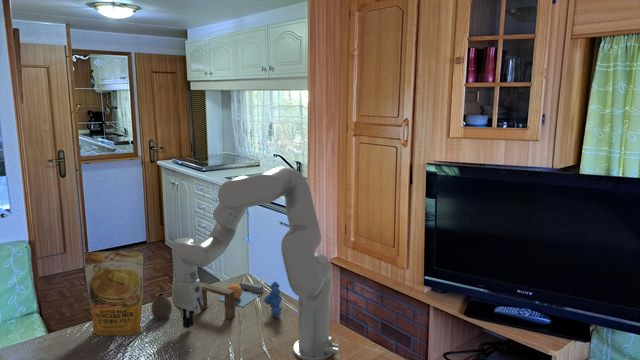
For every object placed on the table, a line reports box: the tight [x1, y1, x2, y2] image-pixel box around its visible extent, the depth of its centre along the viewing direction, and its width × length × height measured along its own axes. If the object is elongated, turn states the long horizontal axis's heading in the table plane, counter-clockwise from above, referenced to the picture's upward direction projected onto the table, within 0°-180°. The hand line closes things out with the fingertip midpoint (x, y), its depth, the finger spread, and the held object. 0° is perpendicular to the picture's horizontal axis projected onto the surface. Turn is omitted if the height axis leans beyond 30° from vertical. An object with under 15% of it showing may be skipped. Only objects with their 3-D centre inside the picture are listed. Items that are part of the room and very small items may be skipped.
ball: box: [226, 283, 242, 300], centre depth 176 cm, size 6×6×6 cm
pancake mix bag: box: [81, 250, 146, 337], centre depth 150 cm, size 7×19×28 cm, turn 92°
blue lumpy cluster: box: [263, 281, 283, 318], centre depth 164 cm, size 12×7×12 cm, turn 12°
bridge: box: [200, 281, 236, 320], centre depth 165 cm, size 3×15×10 cm, turn 62°
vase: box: [150, 292, 173, 321], centre depth 162 cm, size 7×7×9 cm
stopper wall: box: [239, 280, 264, 294], centre depth 184 cm, size 10×2×2 cm, turn 62°
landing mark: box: [217, 289, 261, 308], centre depth 178 cm, size 12×12×1 cm
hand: (188, 326), depth 154 cm, fingers closed
